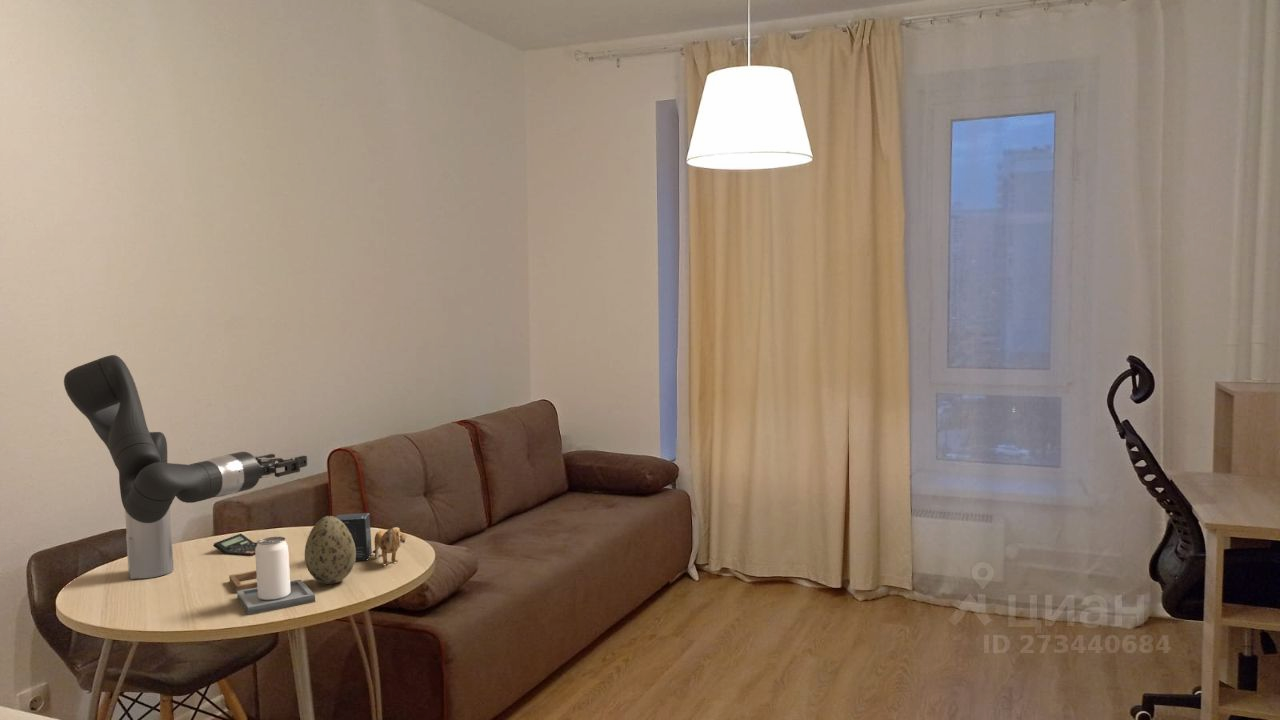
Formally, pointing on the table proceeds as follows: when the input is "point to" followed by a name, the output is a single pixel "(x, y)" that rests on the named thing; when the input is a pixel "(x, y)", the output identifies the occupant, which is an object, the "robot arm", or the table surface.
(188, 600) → the table surface
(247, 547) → the calculator
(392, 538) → the lion figurine
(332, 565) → the decorative egg
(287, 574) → the can
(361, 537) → the box
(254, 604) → the tray
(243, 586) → the frame
